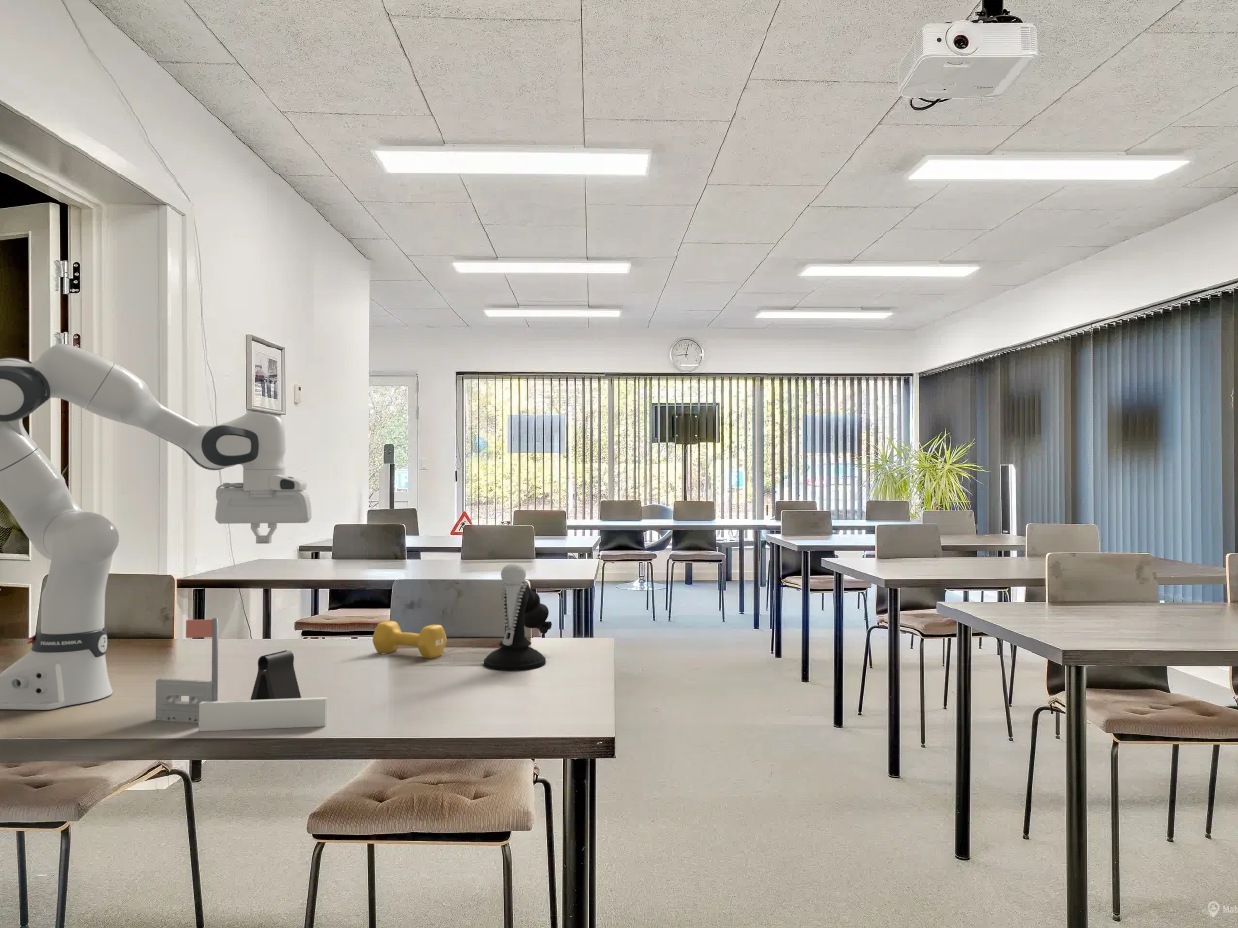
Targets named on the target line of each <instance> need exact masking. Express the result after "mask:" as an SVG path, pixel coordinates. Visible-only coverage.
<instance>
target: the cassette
mask: <svg viewBox="0 0 1238 928" xmlns="http://www.w3.org/2000/svg"><path fill="white" fill-rule="evenodd" d="M182 696H183V697H188V701H184V700H182ZM208 701H212V680H201V679H181V678H179V679H178V678H177V679H176V678H158V679H156V681H155V720H156V721H163V722H177V723H178V722H181V723H182V722H183V723H196V724H197V723H198V724H199V703H201V702H208Z"/></svg>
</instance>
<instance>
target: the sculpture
mask: <svg viewBox="0 0 1238 928" xmlns="http://www.w3.org/2000/svg"><path fill="white" fill-rule="evenodd" d="M526 576H527V571H526V569H525V567H524V566H523V565H522V564H520V563H516V562H510V563H507V564H506V565H505V566H503V567H502V569H501V572H500V578H501V580H502V582H503V584H502V585H503V587H504V588H503V589H504V590H503V592H502V593H503V594H502V597H503V598H502V604H503V606H502V608H503V609H502V612H503V619H504V638H503V639H501V641H499V642H498V646H499V648H497V649H495V650H493V651H492V652H490V653H489V654H487V656H486V657H485V658H484V659H483V667H484V668H487V669H490V670H494V669H495V671H507V672H508V671H510V672H512V671H513V672H514V671H529V670H534V669H538V668H542V667H544V665H545V666H546V661H547V659H546V657H545V656H544V655H543V654H542V653H541V652H540V651H539V650H537V649H535V648H533V647H531V646H530V645H532V642H531V641H529V640H528V638H526V635H525V633H526V632H525V627H526V628H527V629H528V628H529V629H538V631H539V632H540V634H542V635H543V634H547V633H548V631H549V630H551V629H552V626H553V623H552V621H548V620H547V619H548V617H549V613H550V612H549V611H550V610H549V608H548V606H547V605H546V604H544V603H541V597H540V595H539V593H538V592H537V591H533V590H532V589H531V586H529V585H528V581H527V580H526Z"/></svg>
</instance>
